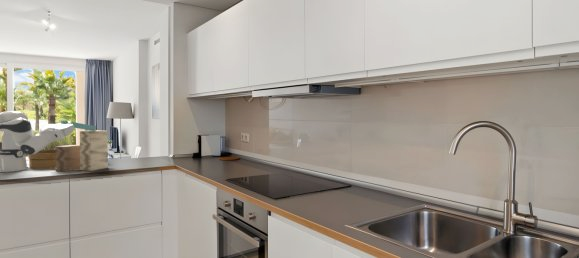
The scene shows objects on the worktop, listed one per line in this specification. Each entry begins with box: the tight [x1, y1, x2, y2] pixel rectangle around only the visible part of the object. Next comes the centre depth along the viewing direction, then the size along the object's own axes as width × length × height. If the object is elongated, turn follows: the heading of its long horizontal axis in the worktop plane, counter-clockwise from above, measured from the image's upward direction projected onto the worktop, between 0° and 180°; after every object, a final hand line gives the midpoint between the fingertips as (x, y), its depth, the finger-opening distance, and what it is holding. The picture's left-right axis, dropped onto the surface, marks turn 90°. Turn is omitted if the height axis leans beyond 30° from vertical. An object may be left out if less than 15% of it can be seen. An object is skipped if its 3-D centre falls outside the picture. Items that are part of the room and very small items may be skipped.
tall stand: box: [79, 129, 109, 171], centre depth 230 cm, size 9×14×26 cm, turn 166°
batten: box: [60, 120, 97, 131], centre depth 218 cm, size 3×24×3 cm, turn 166°
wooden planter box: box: [27, 149, 56, 170], centre depth 242 cm, size 25×25×11 cm
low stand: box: [54, 144, 80, 172], centre depth 227 cm, size 8×14×16 cm, turn 166°
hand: (67, 122), depth 210 cm, fingers closed on batten, 3 cm apart
